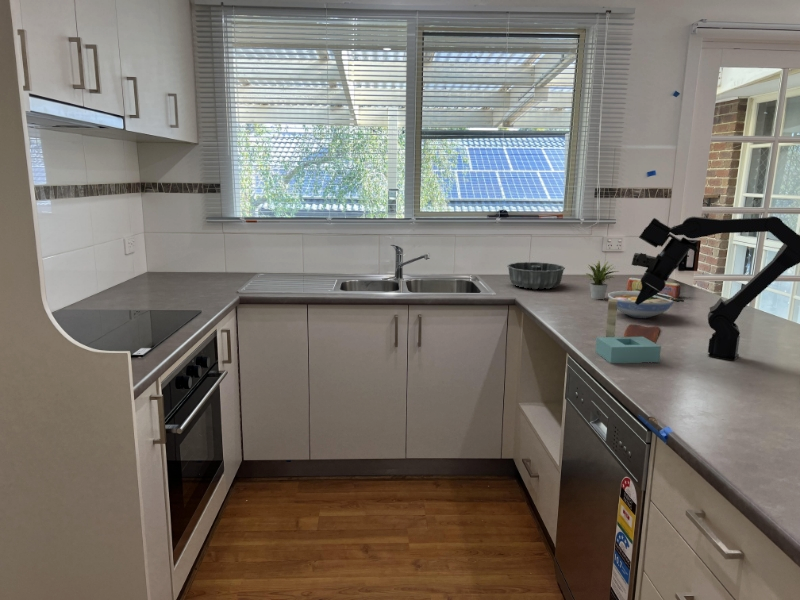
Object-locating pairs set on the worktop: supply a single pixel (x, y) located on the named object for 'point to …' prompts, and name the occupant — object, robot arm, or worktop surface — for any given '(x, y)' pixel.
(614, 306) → the slat
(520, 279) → the bundt pan
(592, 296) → the house plant
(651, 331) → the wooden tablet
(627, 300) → the ramen bowl
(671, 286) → the snack package
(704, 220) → the robot arm
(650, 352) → the end cap
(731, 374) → the worktop surface
